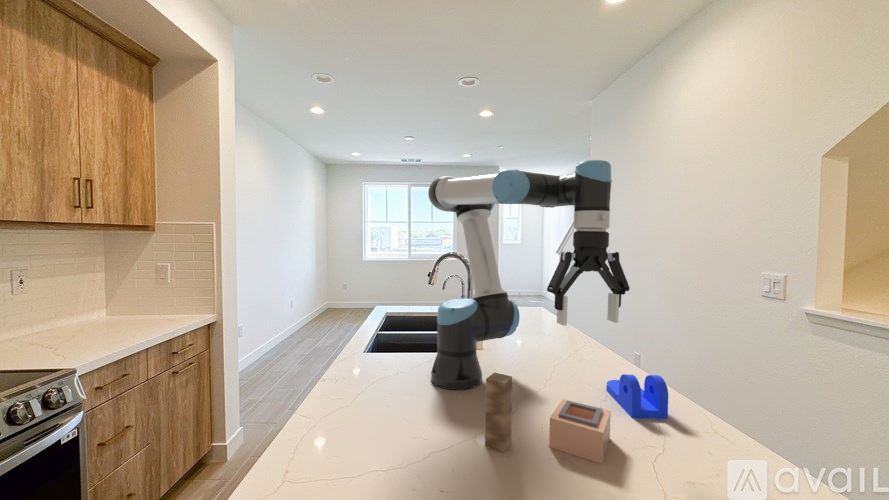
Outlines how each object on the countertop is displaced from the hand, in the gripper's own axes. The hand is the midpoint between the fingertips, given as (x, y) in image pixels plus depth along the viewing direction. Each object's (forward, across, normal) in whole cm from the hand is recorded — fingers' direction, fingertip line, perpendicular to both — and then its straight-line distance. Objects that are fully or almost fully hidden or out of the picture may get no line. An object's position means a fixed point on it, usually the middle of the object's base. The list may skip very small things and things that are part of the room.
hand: (587, 322), depth 82 cm
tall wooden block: (+23, -24, -4) cm, 33 cm away
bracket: (+23, +18, +5) cm, 30 cm away
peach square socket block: (+23, -7, -8) cm, 25 cm away
